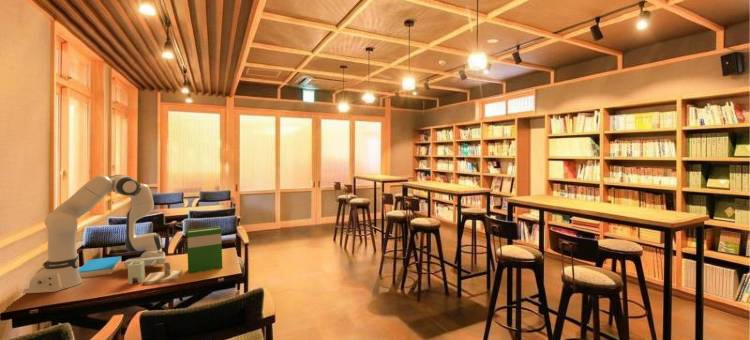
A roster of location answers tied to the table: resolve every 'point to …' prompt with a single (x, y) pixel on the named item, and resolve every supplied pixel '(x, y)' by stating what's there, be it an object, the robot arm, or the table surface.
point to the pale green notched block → (136, 272)
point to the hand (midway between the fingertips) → (142, 265)
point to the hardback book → (204, 249)
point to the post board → (163, 275)
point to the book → (99, 266)
